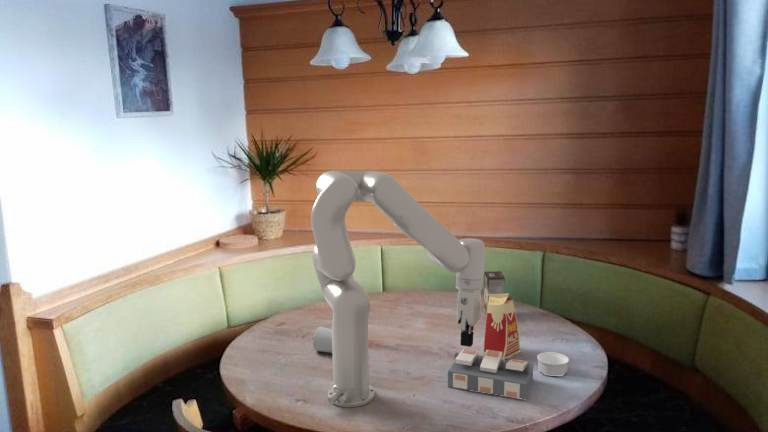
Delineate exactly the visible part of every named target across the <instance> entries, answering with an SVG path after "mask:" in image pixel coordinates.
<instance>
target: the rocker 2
mask: <svg viewBox="0 0 768 432" xmlns="http://www.w3.org/2000/svg"><path fill="white" fill-rule="evenodd" d="M509 360H510V361H509V362H508V363H506V369H513V370H519V371H523V370H524V369H525V368H526V365H527V363H528V361H527V360H523V359H515V358H512V359H509Z"/></svg>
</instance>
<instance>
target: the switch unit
mask: <svg viewBox="0 0 768 432" xmlns="http://www.w3.org/2000/svg"><path fill="white" fill-rule="evenodd" d="M458 355H459V352H455V354H454V359H455V358H456V357H457V356H458ZM483 357H484V355H478V356H476V357H475V360H474V362H473V363H472V365H471V366H469V365H463V364H457V363H455V361H454V362H453V363H452V365H451V366H450V368H449V369H448V370H447V387H448V388H451V387H452V388H451V389H456V388H457V389H458V390H462V389H464V390H463V391H467V390H473V391H479V392H485V393H490V394H497V395H503V396H507V397H514V398H522V399H525V398H526V399H527V397H528V394H529V392H528V390H529V391H530V389H529V388H531V386H532V383H533V381H532V379H533V380H534V363H527V365H526V368H525V369H524V370H523V371H519V370H513V369H506V363H508V362H509V361H510V360H511V359H506V360H503V359H501V361H500V364H499V367H498V370H497V373H492V372H486V371H480V365H481V363H482V360H483ZM531 382H532V383H531ZM530 385H531V386H530ZM473 391H472V392H473ZM479 392H478V393H479ZM527 393H528V394H527ZM490 394H489V395H490ZM526 396H527V397H526ZM507 397H506V398H507Z"/></svg>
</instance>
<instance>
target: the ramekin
mask: <svg viewBox="0 0 768 432" xmlns="http://www.w3.org/2000/svg"><path fill="white" fill-rule="evenodd" d="M536 357H537V364H538V365H537V366H538V367H537V369H538V371H539V372H540V371H541V372H542V373H545V374H549V375H562V374H565V373H566V372H568V366H569V362H570V358H569V357H568V356H567V355H565V354H563V353H560V352H555V351H545V352H540V353H539V354H537V356H536ZM542 373H541V374H542ZM566 374H567V373H566Z"/></svg>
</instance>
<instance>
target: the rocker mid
mask: <svg viewBox="0 0 768 432" xmlns="http://www.w3.org/2000/svg"><path fill="white" fill-rule="evenodd" d="M501 358H502V352H500V351H494V350H486V352H485V354H483V360H482V363H481V365H480V371H486V372H492V373H497V370H498V367H499V364H500V361H501Z"/></svg>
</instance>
